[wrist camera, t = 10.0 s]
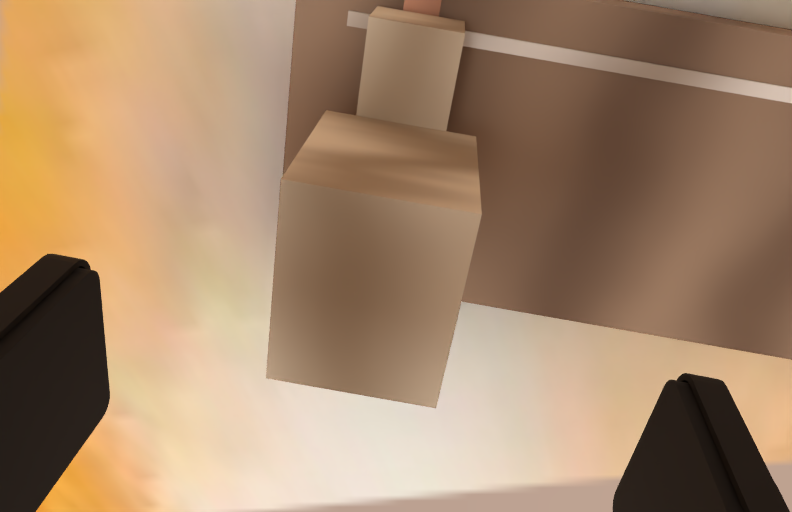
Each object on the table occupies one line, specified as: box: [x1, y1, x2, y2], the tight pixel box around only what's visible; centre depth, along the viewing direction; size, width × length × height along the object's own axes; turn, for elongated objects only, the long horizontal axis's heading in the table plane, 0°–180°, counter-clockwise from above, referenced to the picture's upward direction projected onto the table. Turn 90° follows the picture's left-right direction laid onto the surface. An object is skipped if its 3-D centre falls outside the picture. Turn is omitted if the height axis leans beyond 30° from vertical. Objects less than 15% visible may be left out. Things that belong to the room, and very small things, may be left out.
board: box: [283, 0, 792, 359], centre depth 21 cm, size 21×10×2 cm, turn 81°
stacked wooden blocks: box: [266, 6, 482, 408], centre depth 18 cm, size 4×11×9 cm, turn 171°
